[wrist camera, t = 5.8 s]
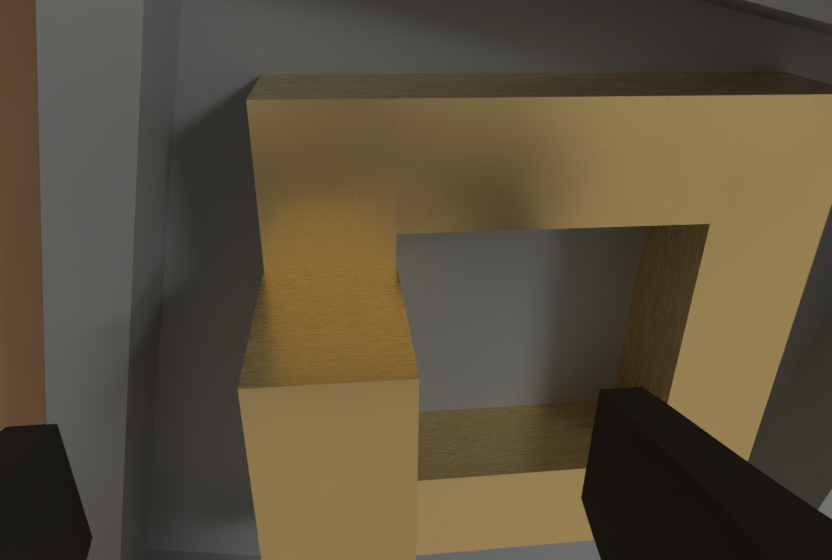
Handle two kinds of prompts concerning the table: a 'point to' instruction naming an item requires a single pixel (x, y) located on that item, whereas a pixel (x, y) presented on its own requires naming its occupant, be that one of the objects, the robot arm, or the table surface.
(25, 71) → the table surface
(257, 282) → the tray
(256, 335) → the ring
